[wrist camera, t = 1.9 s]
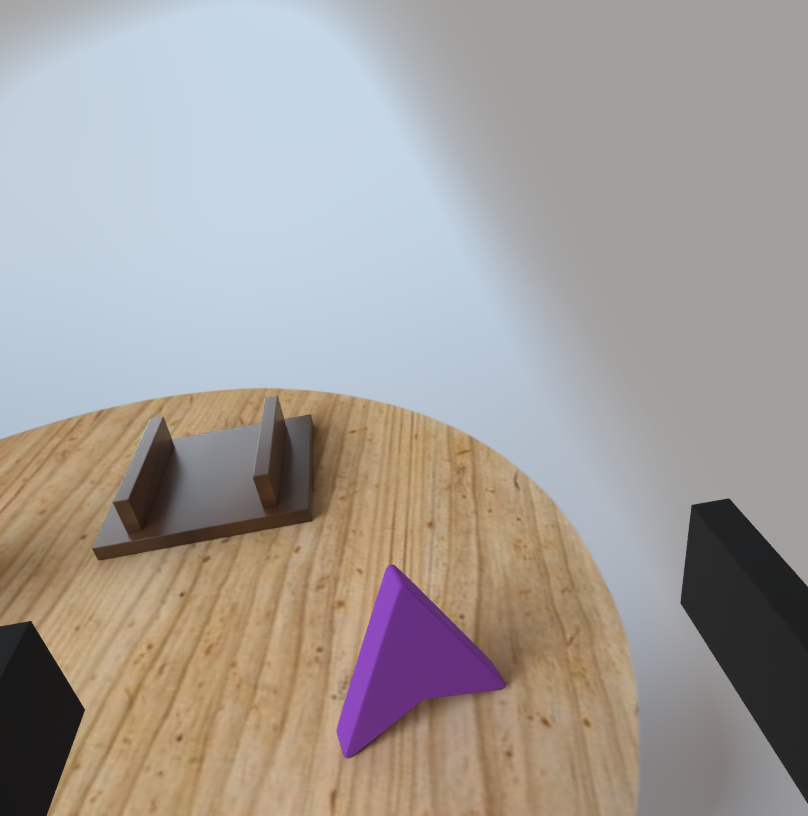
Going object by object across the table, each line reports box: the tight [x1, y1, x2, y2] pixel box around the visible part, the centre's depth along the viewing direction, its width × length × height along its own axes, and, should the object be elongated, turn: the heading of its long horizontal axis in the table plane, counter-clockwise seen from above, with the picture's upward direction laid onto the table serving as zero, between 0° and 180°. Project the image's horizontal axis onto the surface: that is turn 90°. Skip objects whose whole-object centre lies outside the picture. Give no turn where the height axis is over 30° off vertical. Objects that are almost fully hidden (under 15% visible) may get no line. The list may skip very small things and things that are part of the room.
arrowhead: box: [337, 565, 505, 758], centre depth 32 cm, size 10×2×10 cm
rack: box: [92, 396, 313, 560], centre depth 53 cm, size 16×14×4 cm
